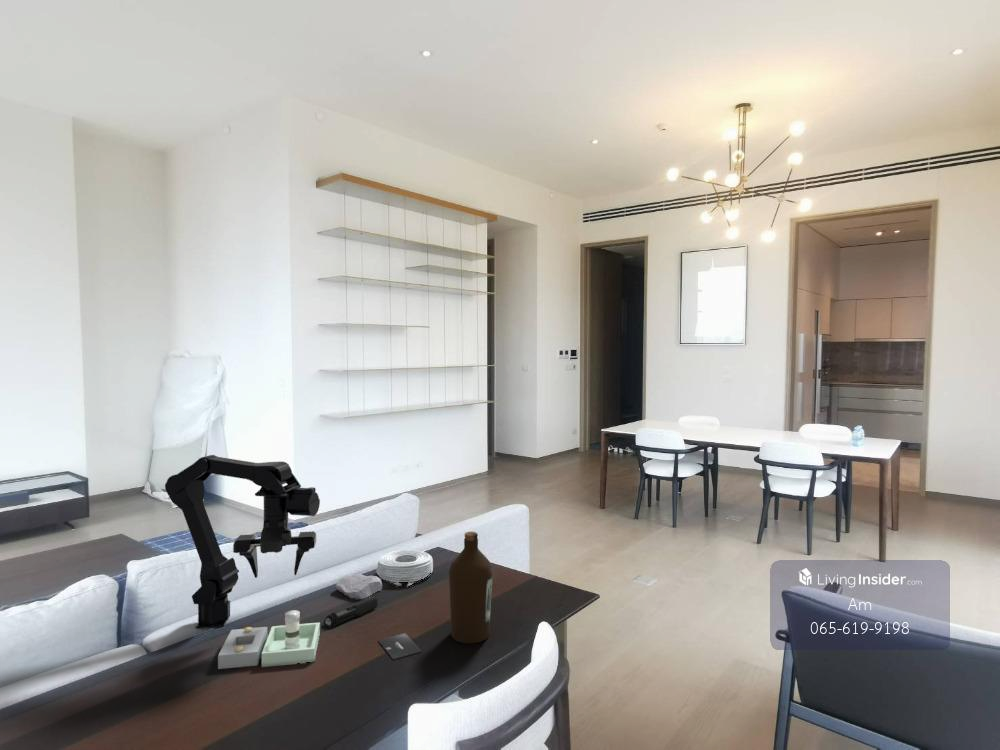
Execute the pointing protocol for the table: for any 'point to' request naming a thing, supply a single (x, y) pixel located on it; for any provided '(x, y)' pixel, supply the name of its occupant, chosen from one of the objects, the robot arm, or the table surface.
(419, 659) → the table surface
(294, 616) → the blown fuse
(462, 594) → the olive oil
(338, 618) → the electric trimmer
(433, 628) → the table surface
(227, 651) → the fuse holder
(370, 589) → the stone block
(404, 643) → the solid state drive
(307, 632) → the tray
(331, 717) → the table surface
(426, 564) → the cable
